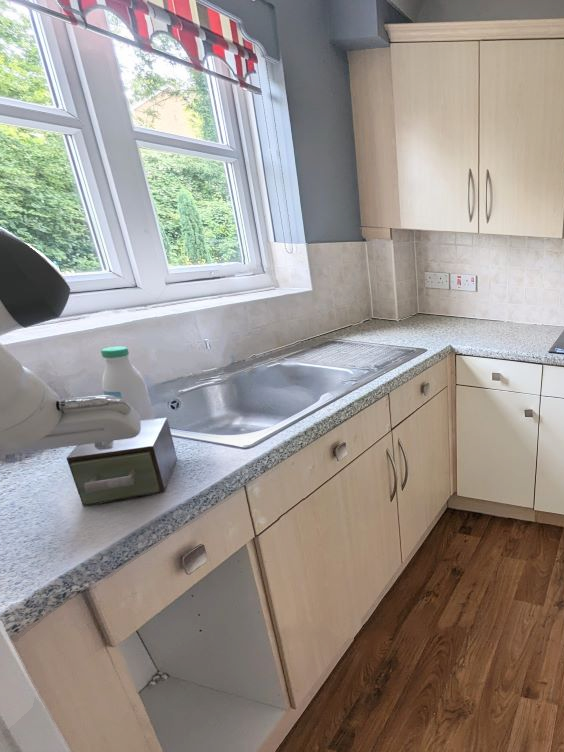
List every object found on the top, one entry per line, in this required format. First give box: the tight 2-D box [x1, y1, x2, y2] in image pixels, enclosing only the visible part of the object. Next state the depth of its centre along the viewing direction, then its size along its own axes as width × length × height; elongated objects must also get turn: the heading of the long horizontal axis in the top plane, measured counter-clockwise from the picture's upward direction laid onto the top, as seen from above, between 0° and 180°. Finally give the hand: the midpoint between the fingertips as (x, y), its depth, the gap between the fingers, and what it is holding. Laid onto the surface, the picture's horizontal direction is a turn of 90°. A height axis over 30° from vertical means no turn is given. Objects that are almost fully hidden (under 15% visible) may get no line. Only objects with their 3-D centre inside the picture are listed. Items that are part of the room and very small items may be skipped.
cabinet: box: [66, 417, 178, 507], centre depth 87 cm, size 15×12×10 cm
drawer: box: [70, 451, 160, 505], centre depth 83 cm, size 18×10×8 cm, turn 29°
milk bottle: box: [100, 346, 156, 421], centre depth 106 cm, size 8×8×20 cm
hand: (62, 450), depth 63 cm, fingers open, 8 cm apart
